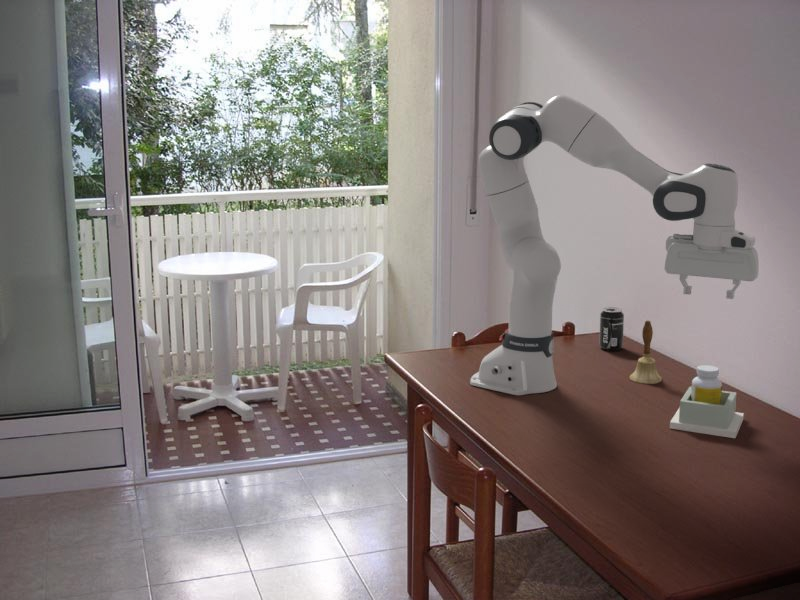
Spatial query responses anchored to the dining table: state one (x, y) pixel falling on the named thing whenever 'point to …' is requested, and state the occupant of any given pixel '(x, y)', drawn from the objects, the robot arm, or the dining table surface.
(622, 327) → the beverage can
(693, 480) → the dining table surface
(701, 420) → the well block
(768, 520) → the dining table surface
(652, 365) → the hand bell
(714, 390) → the pill bottle
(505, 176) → the robot arm
